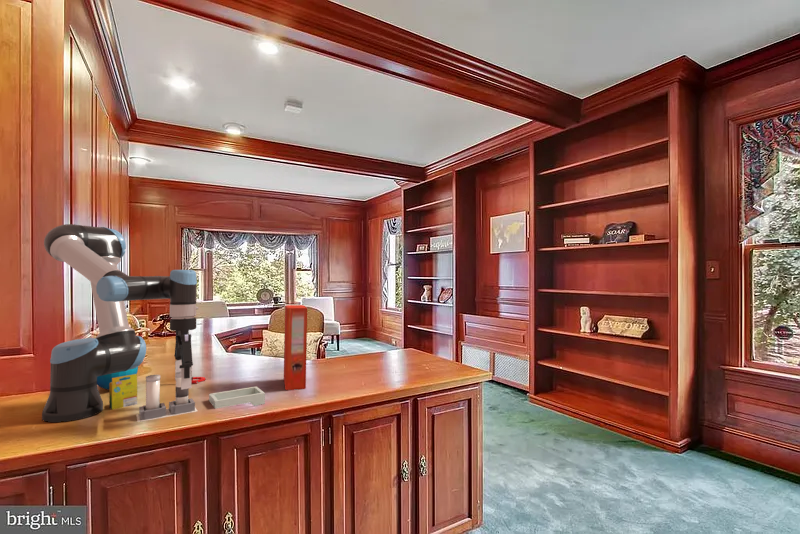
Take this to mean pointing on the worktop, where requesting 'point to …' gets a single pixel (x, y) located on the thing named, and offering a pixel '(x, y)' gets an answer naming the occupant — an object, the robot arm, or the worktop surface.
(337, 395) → the worktop surface
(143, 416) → the block
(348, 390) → the worktop surface
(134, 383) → the crayon box
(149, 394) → the cylinder
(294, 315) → the file binder
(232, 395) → the parts tray
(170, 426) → the worktop surface
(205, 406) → the worktop surface
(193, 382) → the tow hook
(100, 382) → the decorative orb
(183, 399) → the cylinder
